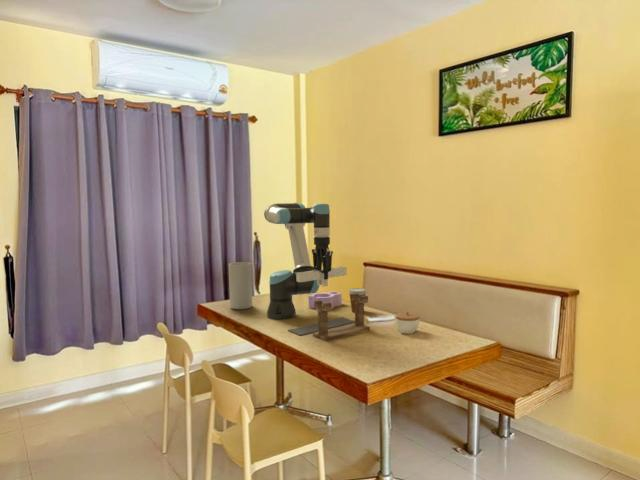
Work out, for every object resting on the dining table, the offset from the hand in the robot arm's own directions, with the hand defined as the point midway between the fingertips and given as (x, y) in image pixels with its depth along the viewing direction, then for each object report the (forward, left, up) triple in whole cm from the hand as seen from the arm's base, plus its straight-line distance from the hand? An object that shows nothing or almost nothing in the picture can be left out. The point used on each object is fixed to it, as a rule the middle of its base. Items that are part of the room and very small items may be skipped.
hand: (322, 285), depth 217 cm
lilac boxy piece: (-31, +27, -20) cm, 46 cm away
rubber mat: (0, 0, -20) cm, 20 cm away
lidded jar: (+32, +24, -20) cm, 45 cm away
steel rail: (0, 0, +3) cm, 3 cm away
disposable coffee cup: (-10, +32, -20) cm, 39 cm away
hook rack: (+14, 0, -20) cm, 24 cm away
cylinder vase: (-61, -11, -20) cm, 65 cm away
